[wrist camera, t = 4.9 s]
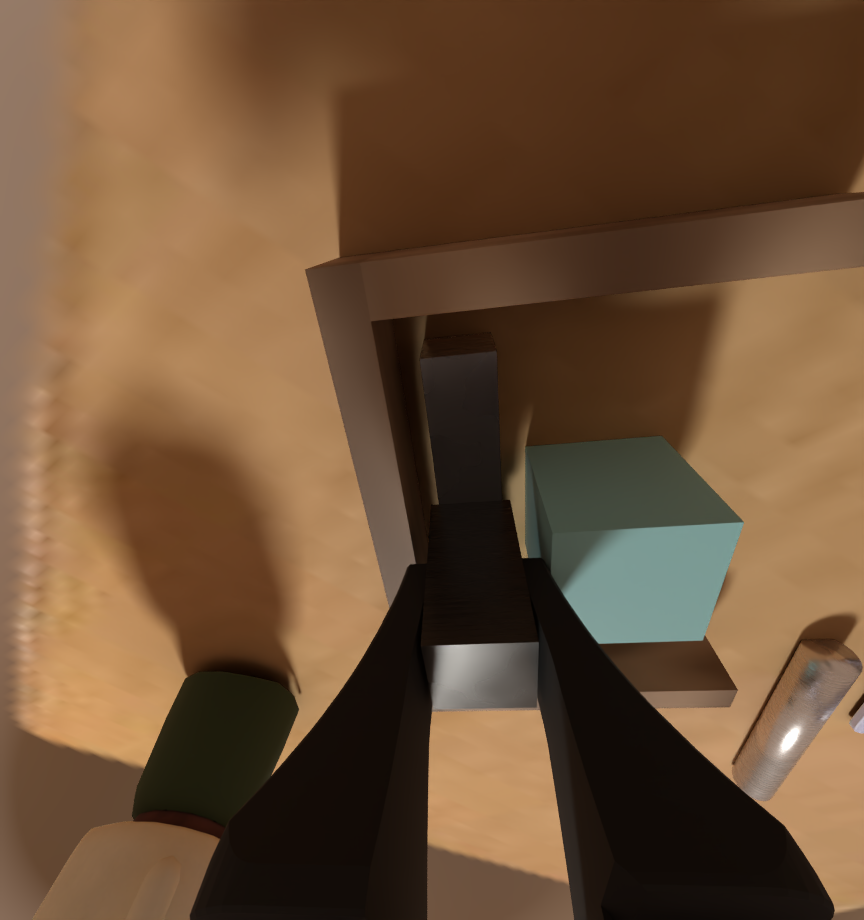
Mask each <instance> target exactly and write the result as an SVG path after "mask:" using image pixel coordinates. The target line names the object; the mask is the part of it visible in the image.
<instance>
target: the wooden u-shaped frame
mask: <svg viewBox="0 0 864 920" xmlns="http://www.w3.org/2000/svg"><path fill="white" fill-rule="evenodd" d="M855 267H864V192H858V193H842V194H833V195H825V196H817V197H810V198H802V199H794V200H786V201H778V202H771V203H763V204H755V205H747V206H739V207H731V208H724V209H716V210H708V211H700V212H692V213H685V214H677V215H669V216H661V217H653V218H646V219H638V220H630V221H622V222H614V223H607V224H599V225H591V226H583V227H575V228H567V229H560V230H552V231H544V232H536V233H528V234H521V235H513V236H505V237H497V238H489V239H482V240H474V241H466V242H458V243H450V244H442V245H435V246H427V247H419V248H411V249H403V250H396V251H388V252H380V253H372V254H364V255H357V256H349V257H341V258H337V259H334V260H331V261H328V262H326V263H323V264H320V265H317V266H314V267H311V268H308V269H306V270H305V271H306V275H307V279H308V283H309V287H310V291H311V295H312V299H313V303H314V307H315V311H316V315H317V319H318V323H319V327H320V331H321V335H322V339H323V343H324V347H325V351H326V355H327V359H328V363H329V367H330V371H331V375H332V379H333V383H334V387H335V391H336V395H337V399H338V403H339V407H340V411H341V415H342V419H343V423H344V428H345V432H346V436H347V440H348V444H349V448H350V452H351V456H352V460H353V464H354V468H355V472H356V476H357V480H358V484H359V488H360V492H361V496H362V500H363V504H364V508H365V512H366V516H367V520H368V524H369V528H370V532H371V536H372V540H373V544H374V548H375V552H376V556H377V560H378V564H379V568H380V572H381V576H382V580H383V584H384V588H385V592H386V596H387V600H388V604H389V608H390V607H391V605H392V603H393V600H394V598H395V596H396V594H397V592H398V589H399V587H400V585H401V582H402V580H403V577H404V575H405V572H406V569H407V567H408V566H409V565H410V564H425V563H427V555H428V540H427V534H426V528H425V521H424V515H423V509H422V503H421V496H420V490H419V484H418V478H417V471H416V465H415V459H414V452H413V446H412V440H411V434H410V427H409V421H408V415H407V408H406V402H405V396H404V390H403V383H402V377H401V371H400V365H399V358H398V352H397V346H396V339H395V333H394V327H393V321H392V319H396V318H405V317H414V316H423V315H432V314H441V313H450V312H459V311H468V310H477V309H486V308H495V307H504V306H513V305H522V304H531V303H540V302H549V301H558V300H567V299H576V298H585V297H594V296H603V295H612V294H621V293H630V292H639V291H648V290H657V289H666V288H675V287H684V286H693V285H702V284H711V283H720V282H729V281H738V280H747V279H756V278H765V277H774V276H783V275H792V274H801V273H810V272H819V271H828V270H837V269H846V268H855ZM599 645H600V646H601V648H602V649H603V650H604V651H605V653H606V654H607V655H608V656H609V658H610V659H611V660H612V661H613V662H614V664H615V665H616V666H617V667H618V668H619V670H620V671H621V672H622V673H623V674H624V675H625V676H626V678H627V679H628V680H629V681H630V682H631V683H632V684H633V685H634V687H635V688H636V689H637V690H638V691H639V692H640V693H641V694H642V695H643V696H644V697H645V698H646V699H647V701H648V702H649V703H650V704H651V705H652V706H653V707H654V708H709V707H730V706H731V704H732V702H733V699H734V697H735V695H736V693H737V691H738V689H737V688H736V686H735V684H734V683H733V681H732V679H731V678H730V676H729V674H728V673H727V671H726V669H725V668H724V666H723V664H722V663H721V661H720V659H719V658H718V656H717V655H716V653H715V651H714V650H713V648H712V646H711V645H710V643H709V641H708V640H707V638H706V636H704V639H703V641H671V642H639V643H607V644H599ZM503 710H540V707H539V703H538V698H537V708H485V709H434V708H433V705H432V712H435V711H503Z"/></svg>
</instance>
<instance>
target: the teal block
mask: <svg viewBox="0 0 864 920" xmlns="http://www.w3.org/2000/svg"><path fill="white" fill-rule="evenodd" d="M743 524H744V522H743V521H742V519H741V518H740V517H739V516H738V515H737V514H736V513H735V512H734V511H733V510H732V509H731V508H730V507H729V506H728V505H727V504H726V503H725V502H724V501H723V500H722V499H721V497H720V496H719V495H718V494H717V493H716V492H715V491H714V490H713V489H712V488H711V487H710V486H709V485H708V484H707V483H706V482H705V481H704V480H703V479H702V478H701V476H700V475H699V474H698V473H697V472H696V471H695V470H694V469H693V468H692V467H691V466H690V465H689V464H688V463H687V462H686V461H685V460H684V459H683V458H682V457H681V456H680V454H679V453H678V452H677V451H676V450H675V449H674V448H673V447H672V446H671V445H670V444H669V443H668V442H667V441H666V440H665V439H664V438H663V437H662V436H653V437H640V438H627V439H615V440H602V441H589V442H577V443H564V444H551V445H539V446H526V447H525V544H526V549H527V554H528V558H542V559H543V560H544V561H545V563H546V565H547V567H548V569H549V571H550V573H551V575H552V576H553V578H554V580H555V582H556V583H557V585H558V587H559V588H560V590H561V591H562V593H563V595H564V596H565V598H566V599H567V601H568V602H569V604H570V605H571V607H572V608H573V610H574V611H575V612H576V614H577V615H578V617H579V618H580V620H581V621H582V622H583V624H584V625H585V627H586V628H587V629H588V631H589V632H590V633H591V635H592V636H593V637H594V639H595V640H596V641H597V643H598V644H607V643H639V642H671V641H703V639H704V636H705V633H706V630H707V627H708V624H709V621H710V619H711V616H712V613H713V610H714V607H715V604H716V601H717V598H718V596H719V593H720V590H721V587H722V584H723V581H724V578H725V576H726V573H727V570H728V567H729V564H730V561H731V558H732V555H733V553H734V550H735V547H736V544H737V541H738V538H739V535H740V533H741V530H742V527H743Z"/></svg>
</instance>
